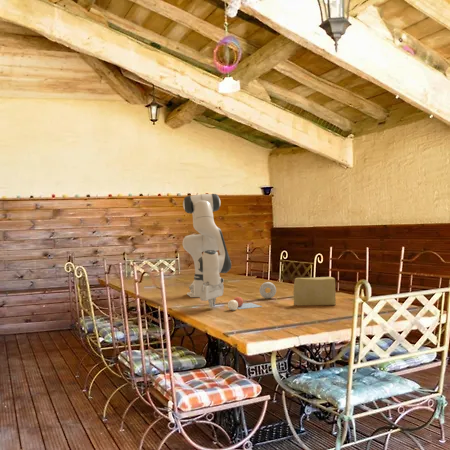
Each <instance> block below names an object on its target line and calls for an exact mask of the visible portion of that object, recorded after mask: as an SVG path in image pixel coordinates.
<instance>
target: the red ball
mask: <svg viewBox="0 0 450 450" xmlns="http://www.w3.org/2000/svg"><path fill="white" fill-rule="evenodd" d="M233 300H235V301H237V302H238V307H240V306H242V305H243V304H244V300H243V298H242V297H241V296H236V297H234V299H233Z"/></svg>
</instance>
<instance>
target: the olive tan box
mask: <svg viewBox="0 0 450 450" xmlns="http://www.w3.org/2000/svg"><path fill="white" fill-rule="evenodd" d="M336 298H337V297H336V278H335V277H332V276H320V277H319V276H317V277H296V278H294V284H293V305H294V306H296V305H297V306H336V300H337V299H336Z"/></svg>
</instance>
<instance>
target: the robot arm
mask: <svg viewBox="0 0 450 450" xmlns="http://www.w3.org/2000/svg"><path fill="white" fill-rule="evenodd" d="M221 203H222V202H221V199H220V197H219V195H218V194H217V193H211V194H210V193H201V194H193V195H187V196H185V197H184V198H183V201H182V207H183V210H184V212H185V213H186V214H192V226H193V229H194V230H195V231H196V232H198V234H189V235H185V236H184V238H183V239H182V243H181V245H182V247H183V250H185V251H186V252H187V253H188V254H189V255H190V256H191V258H192V260H193V264H194V276H193V277H194V278H193V281H192V283H191V284H190V285H189V286H188V289H189V290H190V291H188V292H186V294H187V296H188V297H190V298H199V299H200V300H201V301H204V302H206V301H208V304H209V308H213V307H215V306H216V301H217V298H219V297H222V296H223V295H224V289H225V288H224V282H225V279H224V278H223V277H221V275H220V274H227V273H228V272H230V270H231V269H232V260H231V257H230V255H229V252H228V249H227V245H226V242H225V238H224V235H223V232H222V229H221V228H220V227H218V226H217V225H216V223H215V219H214V213H213V212H217V211H219V210H220V207H221Z"/></svg>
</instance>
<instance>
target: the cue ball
mask: <svg viewBox="0 0 450 450" xmlns="http://www.w3.org/2000/svg"><path fill="white" fill-rule="evenodd" d="M227 308H228V309H229V310H230V311H236V310H238V309H237V308H238V302H237V301H235V300H234V299H231V300H229V301H228V303H227Z"/></svg>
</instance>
